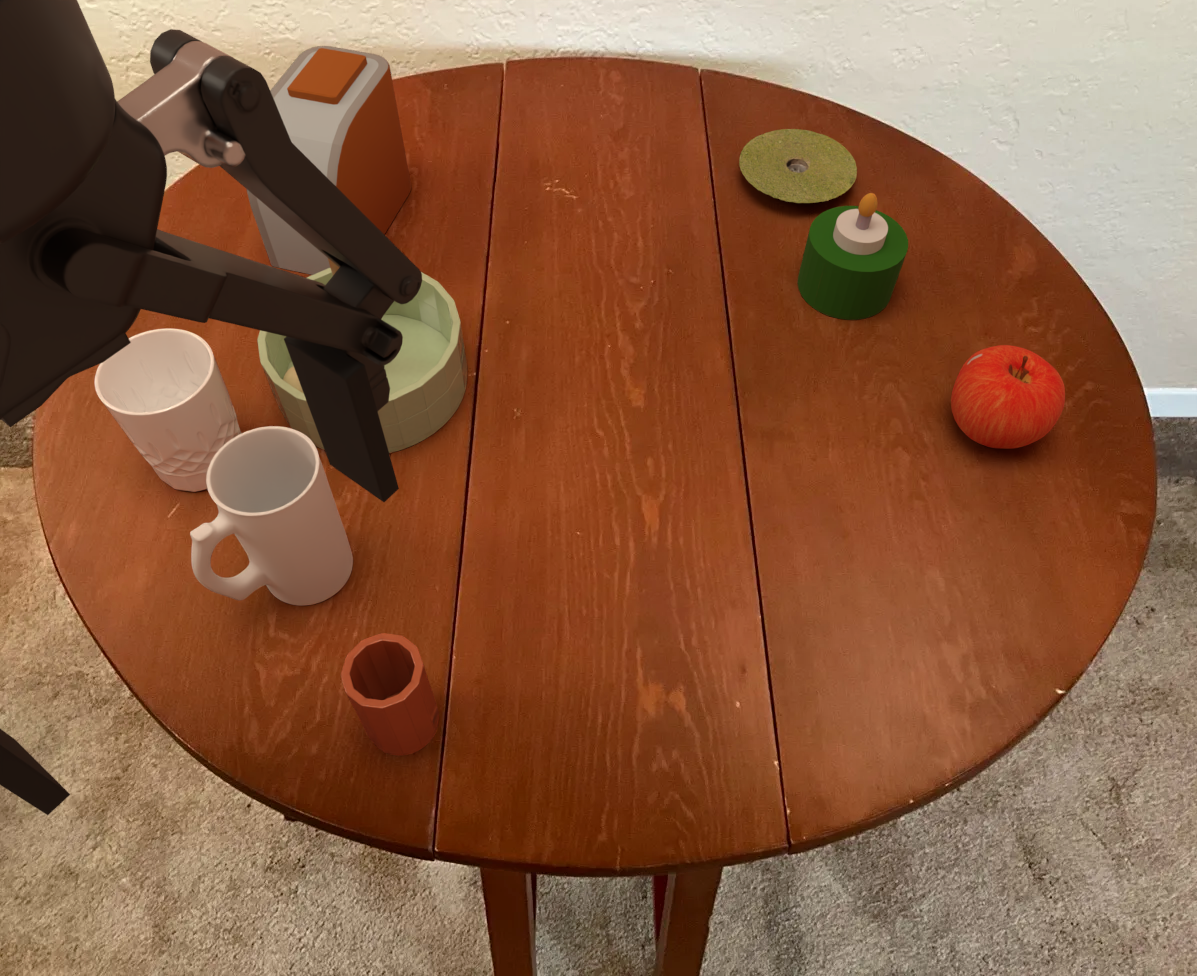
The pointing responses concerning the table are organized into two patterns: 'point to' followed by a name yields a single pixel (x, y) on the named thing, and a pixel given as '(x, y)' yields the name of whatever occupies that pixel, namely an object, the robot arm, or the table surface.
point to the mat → (798, 166)
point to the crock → (391, 693)
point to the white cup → (170, 403)
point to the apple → (1007, 397)
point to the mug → (274, 519)
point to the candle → (852, 260)
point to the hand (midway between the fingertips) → (214, 612)
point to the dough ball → (292, 379)
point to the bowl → (393, 369)
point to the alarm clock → (339, 143)
